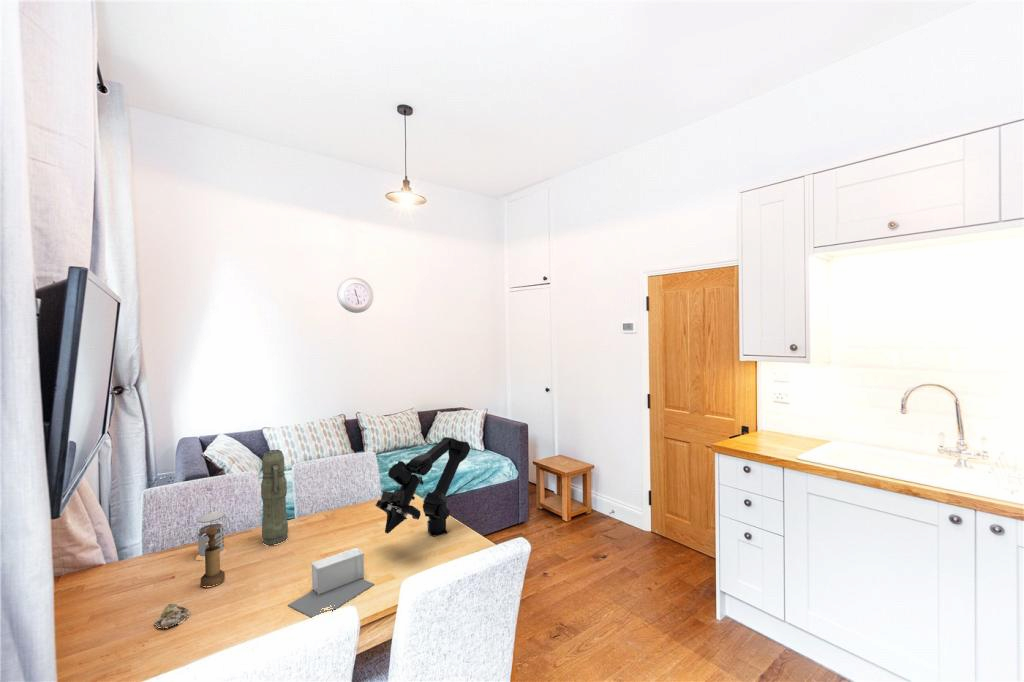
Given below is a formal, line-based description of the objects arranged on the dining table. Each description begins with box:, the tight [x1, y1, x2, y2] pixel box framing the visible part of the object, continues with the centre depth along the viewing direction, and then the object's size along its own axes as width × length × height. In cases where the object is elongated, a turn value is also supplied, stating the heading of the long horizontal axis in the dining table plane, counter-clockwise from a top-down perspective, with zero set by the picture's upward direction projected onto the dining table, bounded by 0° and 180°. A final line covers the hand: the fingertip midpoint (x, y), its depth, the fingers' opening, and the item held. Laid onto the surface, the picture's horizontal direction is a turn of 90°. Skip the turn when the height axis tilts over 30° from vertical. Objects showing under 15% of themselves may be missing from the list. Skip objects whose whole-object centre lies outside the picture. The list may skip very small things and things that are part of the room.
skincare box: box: [311, 547, 365, 595], centre depth 139 cm, size 8×6×15 cm
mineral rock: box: [153, 603, 192, 629], centre depth 123 cm, size 11×4×8 cm
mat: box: [287, 578, 375, 618], centre depth 133 cm, size 20×14×1 cm
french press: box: [196, 485, 231, 556], centre depth 162 cm, size 10×12×25 cm
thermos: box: [260, 449, 289, 546], centre depth 170 cm, size 9×12×35 cm
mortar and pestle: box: [200, 527, 226, 587], centre depth 141 cm, size 7×6×18 cm
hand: (386, 533), depth 152 cm, fingers closed
